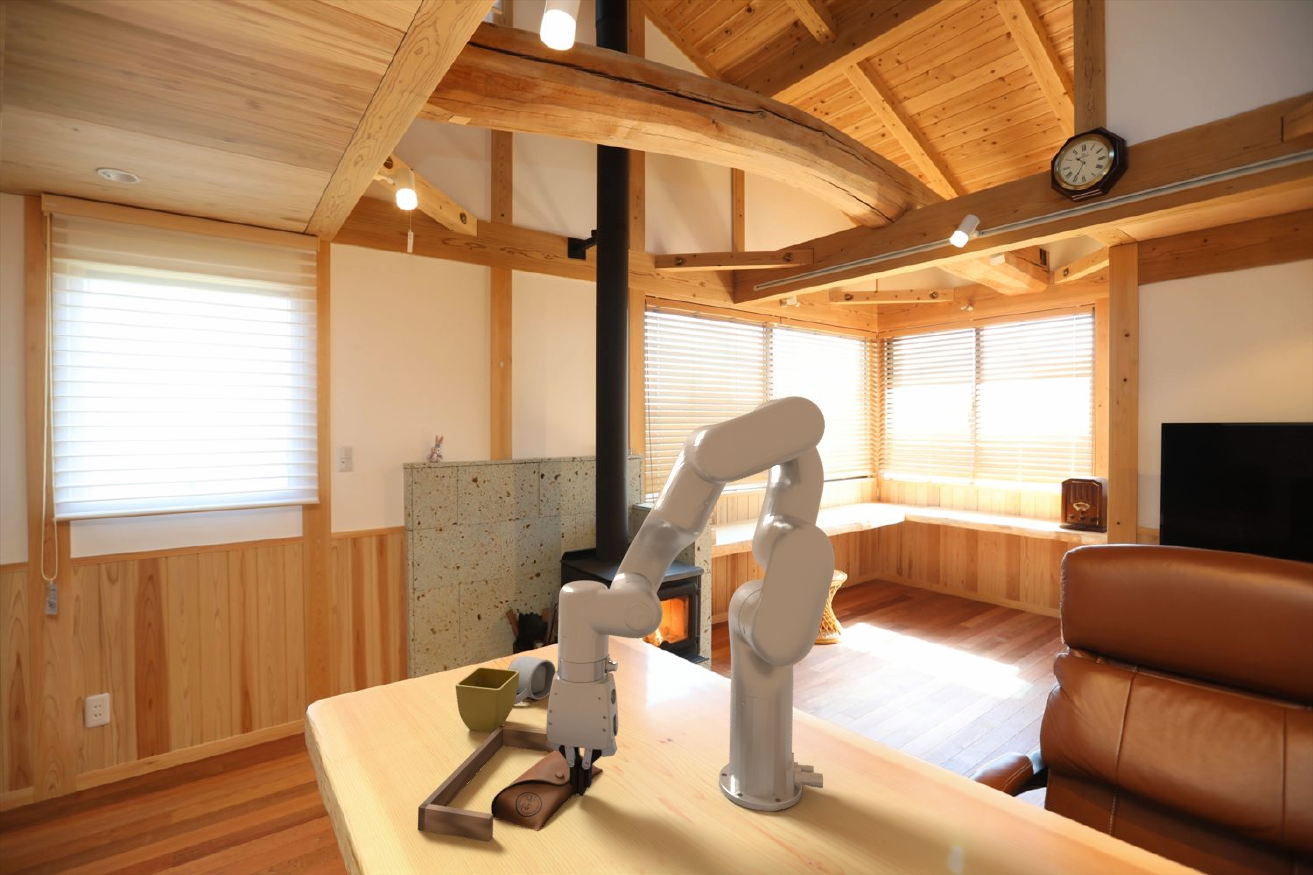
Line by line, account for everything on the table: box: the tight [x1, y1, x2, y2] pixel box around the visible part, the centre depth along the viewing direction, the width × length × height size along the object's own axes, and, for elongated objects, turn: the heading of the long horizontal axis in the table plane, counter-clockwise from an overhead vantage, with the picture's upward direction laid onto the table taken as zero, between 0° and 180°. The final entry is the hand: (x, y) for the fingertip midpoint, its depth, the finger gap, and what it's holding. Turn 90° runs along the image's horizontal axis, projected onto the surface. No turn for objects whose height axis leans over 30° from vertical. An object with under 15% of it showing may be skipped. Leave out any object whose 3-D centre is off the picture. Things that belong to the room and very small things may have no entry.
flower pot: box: [455, 666, 519, 733], centre depth 110 cm, size 9×9×9 cm
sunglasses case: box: [490, 750, 603, 832], centre depth 90 cm, size 18×7×7 cm, turn 155°
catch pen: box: [417, 724, 554, 842], centre depth 91 cm, size 10×24×3 cm, turn 168°
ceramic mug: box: [507, 655, 557, 706], centre depth 123 cm, size 11×8×8 cm
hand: (580, 789), depth 88 cm, fingers closed
